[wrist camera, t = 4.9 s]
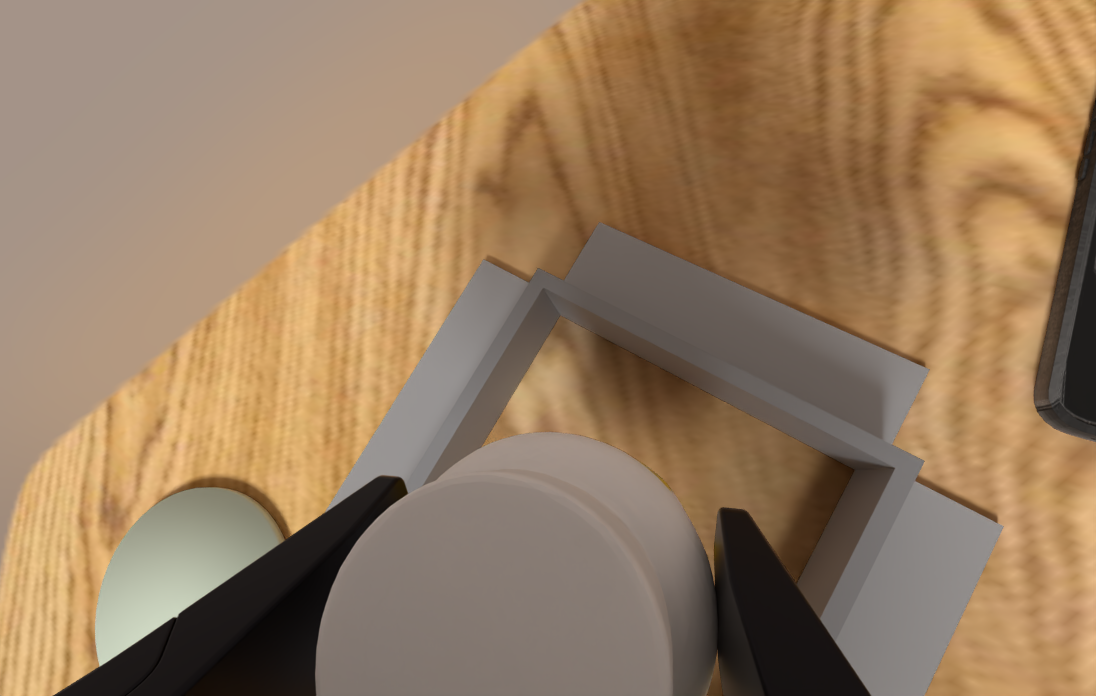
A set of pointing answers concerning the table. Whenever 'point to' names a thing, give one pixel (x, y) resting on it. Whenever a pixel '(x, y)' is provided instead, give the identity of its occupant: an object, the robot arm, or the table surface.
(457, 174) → the table surface
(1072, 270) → the phone
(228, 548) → the felt pad
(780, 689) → the robot arm
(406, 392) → the carton
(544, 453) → the supplement bottle
